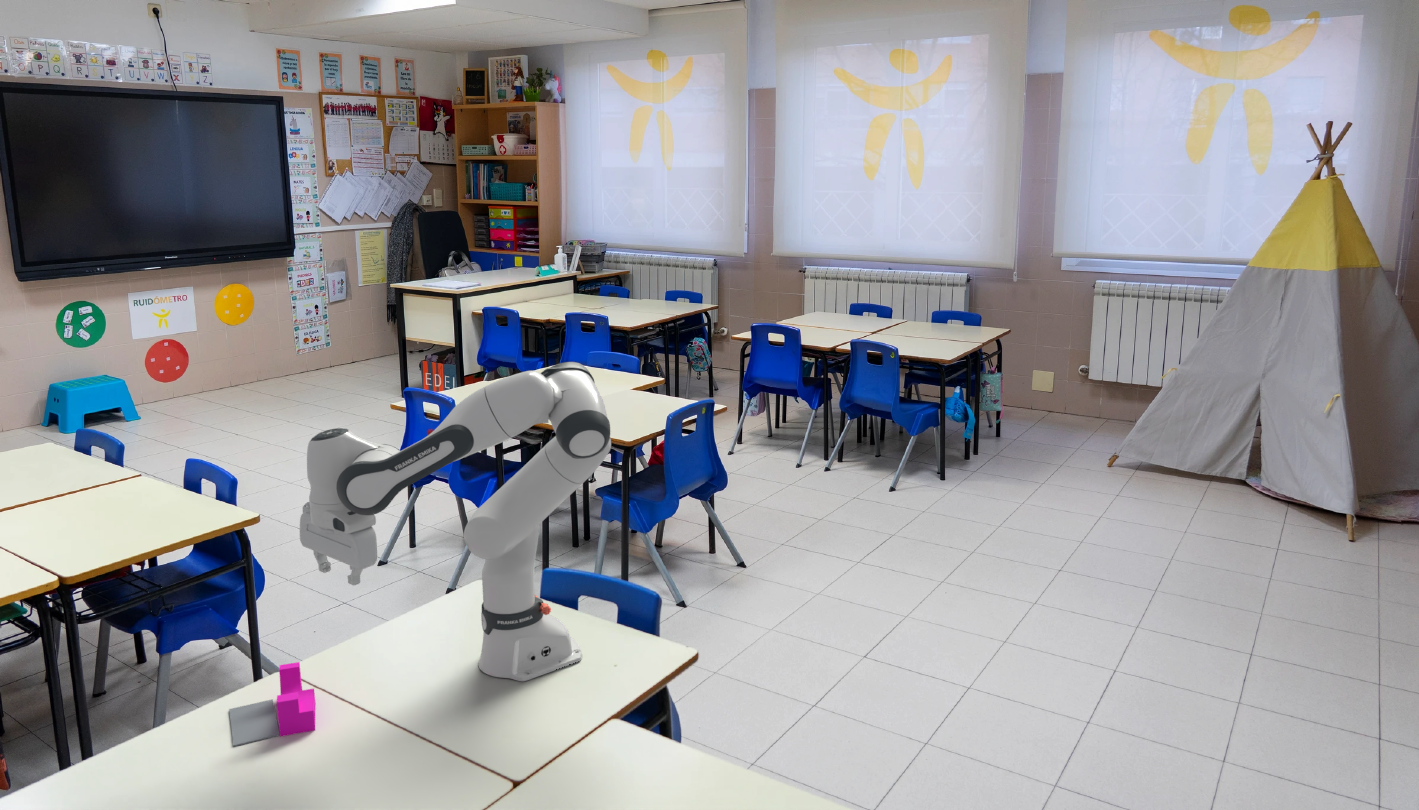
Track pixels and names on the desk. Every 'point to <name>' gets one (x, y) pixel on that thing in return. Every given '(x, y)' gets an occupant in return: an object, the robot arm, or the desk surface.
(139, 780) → the desk surface
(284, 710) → the magenta notched part
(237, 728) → the mat
